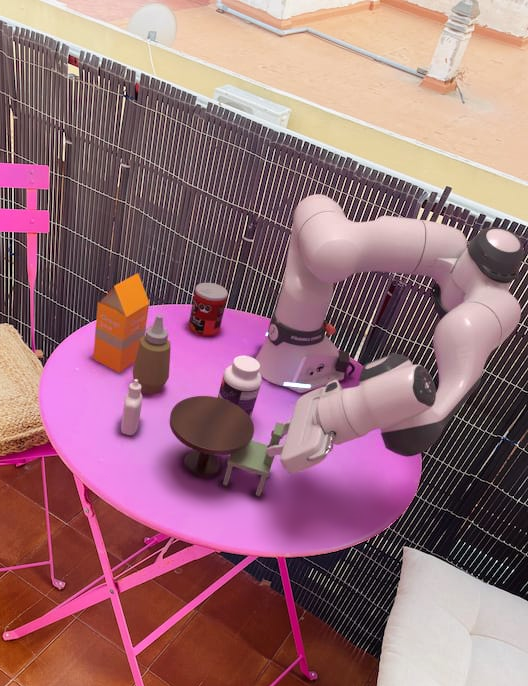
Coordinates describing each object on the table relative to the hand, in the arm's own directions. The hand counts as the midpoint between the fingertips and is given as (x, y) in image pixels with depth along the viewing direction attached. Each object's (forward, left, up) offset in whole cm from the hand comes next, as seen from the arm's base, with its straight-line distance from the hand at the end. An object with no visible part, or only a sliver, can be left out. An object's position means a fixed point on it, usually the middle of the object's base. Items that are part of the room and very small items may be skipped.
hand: (270, 443), depth 127 cm
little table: (+9, -7, -10) cm, 16 cm away
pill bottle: (-4, -20, -11) cm, 23 cm away
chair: (+2, -2, -10) cm, 10 cm away
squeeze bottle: (+10, -34, -11) cm, 37 cm away
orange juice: (+13, -46, -11) cm, 49 cm away
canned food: (-13, -54, -11) cm, 56 cm away
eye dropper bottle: (+19, -22, -11) cm, 31 cm away
